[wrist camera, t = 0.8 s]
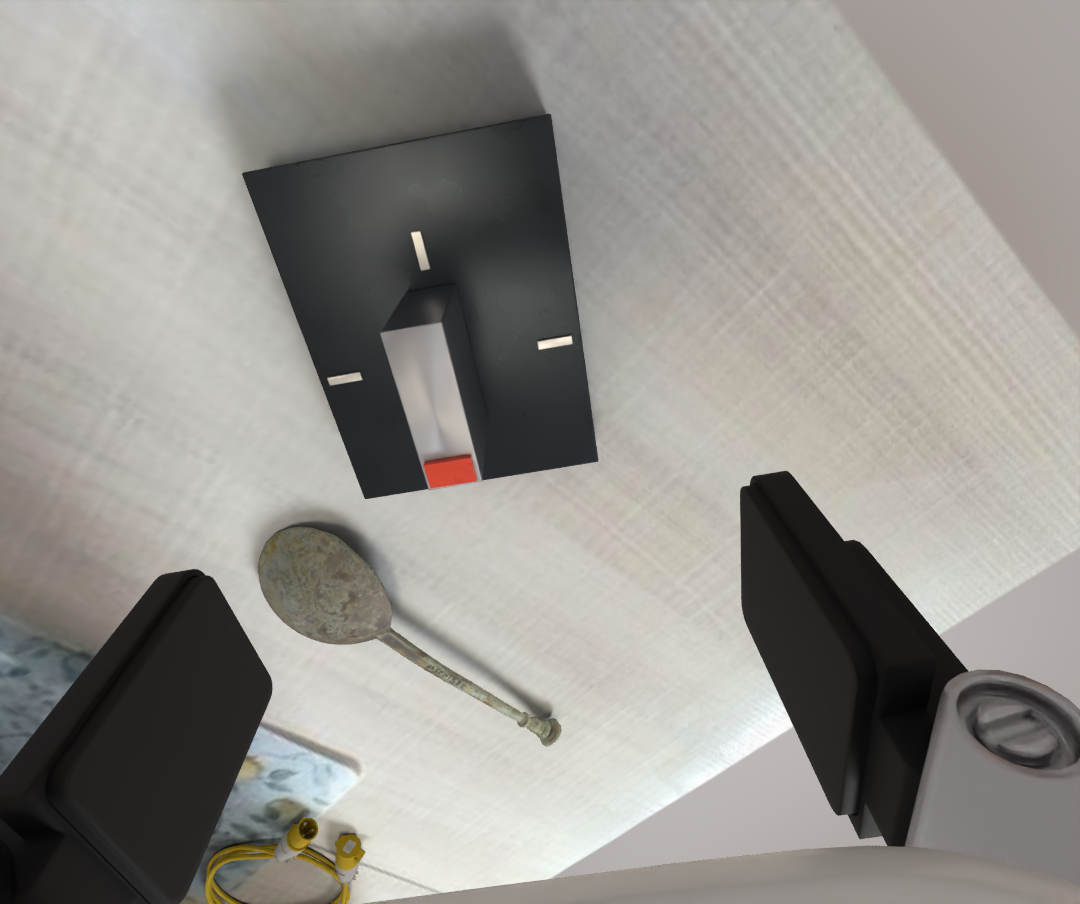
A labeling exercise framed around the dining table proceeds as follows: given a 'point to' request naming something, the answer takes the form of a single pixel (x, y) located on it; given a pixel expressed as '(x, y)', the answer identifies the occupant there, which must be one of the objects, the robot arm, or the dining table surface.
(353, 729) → the dining table surface
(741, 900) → the robot arm
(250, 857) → the extension cord
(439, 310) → the tap handle
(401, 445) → the plate
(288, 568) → the soupspoon
